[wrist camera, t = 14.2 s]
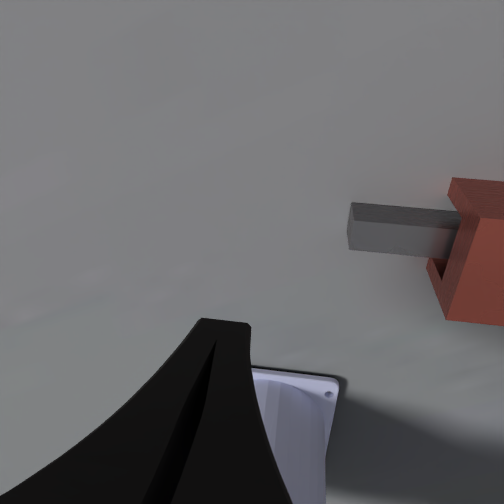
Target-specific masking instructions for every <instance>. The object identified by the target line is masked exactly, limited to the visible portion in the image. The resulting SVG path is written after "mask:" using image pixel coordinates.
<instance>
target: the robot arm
mask: <svg viewBox="0 0 504 504" xmlns="http://www.w3.org/2000/svg"><path fill="white" fill-rule="evenodd" d="M250 342H251V326H250V325H249V324H248V323H243V322H234V321H225V320H217V319H208V318H201V319H200V320H198V321H197V323H196V324H195V325H194V327H193V328H192V329H191V331H190V332H189V334H188V335H187V336H186V337H185V339H184V340H183V341H182V343H181V344H180V345H179V346H178V347H177V349H176V350H175V351H174V352H173V353H172V355H171V356H170V357H169V358H168V359H167V360H166V361H165V363H164V364H163V365H162V366H161V367H160V368H159V369H158V371H157V372H156V373H155V374H154V375H153V376H152V377H151V378H150V379H149V380H148V381H147V382H146V383H145V384H144V385H143V386H142V387H141V388H140V389H139V390H138V391H137V392H136V393H135V394H134V395H133V396H132V397H131V398H130V399H129V400H128V401H127V402H126V403H125V404H124V405H123V406H122V407H121V408H120V409H118V410H117V411H116V412H115V413H114V414H113V415H112V416H111V417H109V418H108V419H107V420H106V421H105V422H104V423H102V424H101V425H100V426H99V427H98V428H96V429H95V430H94V431H93V432H91V433H90V434H89V435H88V436H86V437H85V438H84V439H83V440H81V441H80V442H79V443H78V444H76V445H75V446H74V447H72V448H71V449H70V450H68V451H67V452H66V453H64V454H63V455H61V456H60V457H59V458H57V459H56V460H54V461H53V462H51V463H50V464H48V465H47V466H45V467H44V468H43V469H41V470H40V471H38V472H37V473H35V474H34V475H32V476H31V477H29V478H28V479H26V480H25V481H23V482H22V483H20V484H19V485H17V486H16V487H14V488H12V489H11V490H9V491H8V492H6V493H4V494H3V495H1V496H0V504H326V477H325V456H326V451H327V446H328V441H329V436H330V431H331V426H332V422H333V417H334V412H335V407H336V402H337V397H338V392H339V382H338V381H337V380H336V379H335V378H331V377H322V376H314V375H306V374H298V373H289V372H281V371H273V370H265V369H257V368H251V361H250ZM327 391H330V392H327Z"/></svg>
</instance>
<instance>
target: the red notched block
mask: <svg viewBox="0 0 504 504" xmlns="http://www.w3.org/2000/svg"><path fill="white" fill-rule="evenodd" d="M447 195H448V197H449V198H450V200H451V201H452V203H453V205H454V206H455V208H456V210H457V211H458V213H459V214H460V216H461V218H462V219H461V222H460V225H459V228H458V231H457V234H456V237H455V241H454V244H453V247H452V250H451V253H450V256H449V259H440V258H430V257H429V260H428V263H427V267H426V269H427V272H428V275H429V277H430V280H431V282H432V285H433V288H434V290H435V293H436V295H437V298H438V301H439V303H440V306H441V308H442V311H443V313H444V316H445V319H446V320H452V321H461V322H470V323H480V324H489V325H498V326H504V182H502V181H490V180H478V179H466V178H453V177H452V181H451V184H450V187H449V191H448V194H447Z"/></svg>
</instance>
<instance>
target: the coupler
mask: <svg viewBox="0 0 504 504" xmlns="http://www.w3.org/2000/svg"><path fill="white" fill-rule="evenodd" d="M461 219H462V218H461V216H460V214H459V213H458V212H453V211H442V210H430V209H419V208H408V207H396V206H385V205H374V204H362V203H351V208H350V214H349V220H348V225H347V237H348V245H349V250H358V251H368V252H379V253H389V254H399V255H410V256H420V257H430V258H440V259H449V256H450V253H451V250H452V247H453V244H454V241H455V237H456V234H457V231H458V228H459V225H460V222H461Z"/></svg>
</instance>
